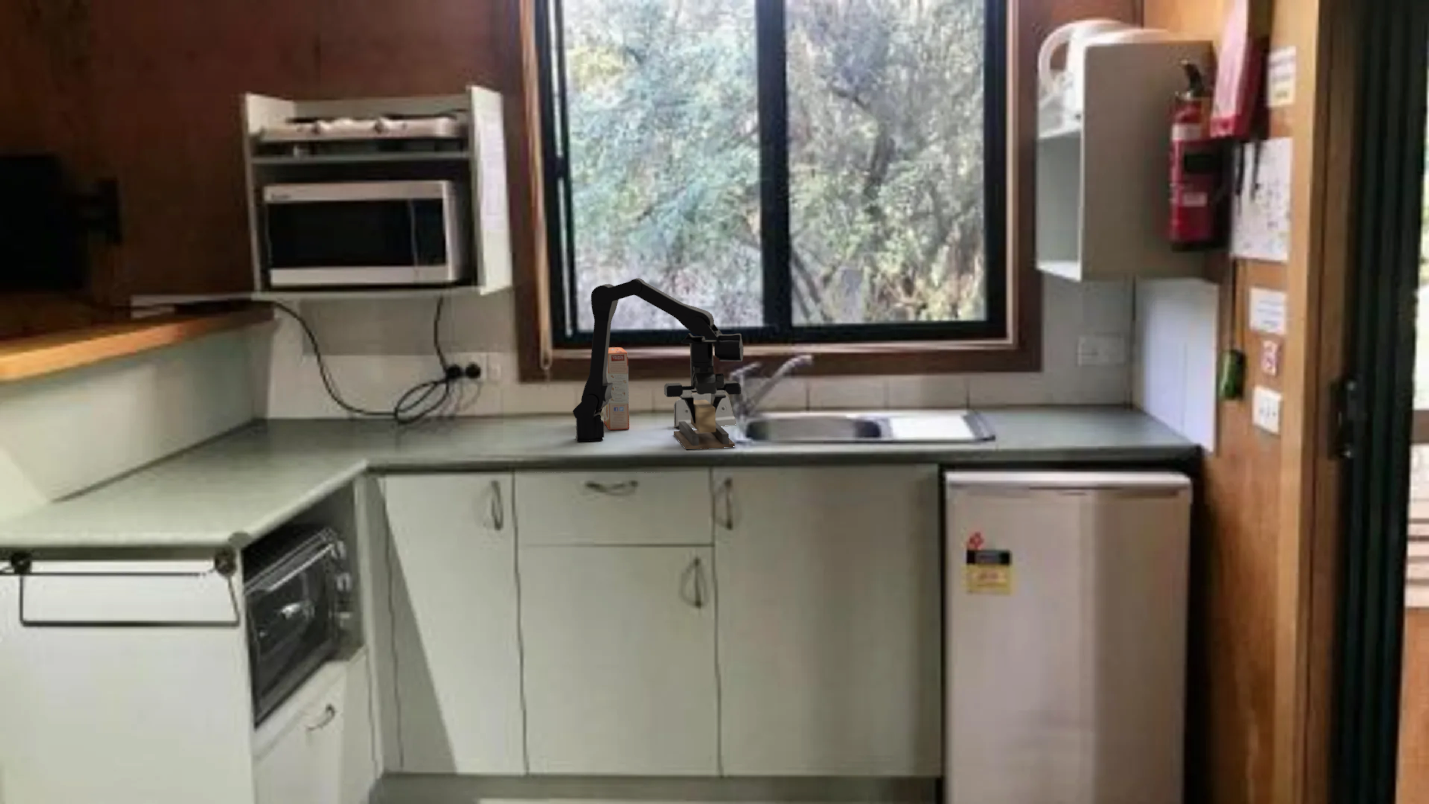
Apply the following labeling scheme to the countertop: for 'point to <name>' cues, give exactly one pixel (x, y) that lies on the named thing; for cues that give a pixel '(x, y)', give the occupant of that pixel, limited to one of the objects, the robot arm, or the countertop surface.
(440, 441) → the countertop surface
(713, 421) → the wooden block
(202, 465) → the countertop surface
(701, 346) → the robot arm
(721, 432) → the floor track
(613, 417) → the cracker box
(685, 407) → the grey upright panel
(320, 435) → the countertop surface
